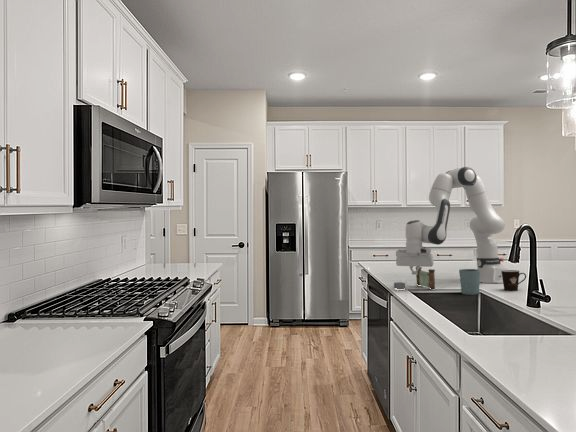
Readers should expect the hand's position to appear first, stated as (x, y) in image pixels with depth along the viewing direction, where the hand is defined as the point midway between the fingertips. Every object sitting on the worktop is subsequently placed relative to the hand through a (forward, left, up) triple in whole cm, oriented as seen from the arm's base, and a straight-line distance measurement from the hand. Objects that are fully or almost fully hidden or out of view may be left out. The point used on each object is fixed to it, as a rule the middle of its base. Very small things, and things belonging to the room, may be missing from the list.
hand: (414, 274), depth 268 cm
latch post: (-6, +7, -8) cm, 12 cm away
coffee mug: (-42, +27, -8) cm, 51 cm away
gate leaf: (-6, 0, -7) cm, 9 cm away
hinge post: (-6, -7, -8) cm, 12 cm away
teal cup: (-17, +26, -8) cm, 32 cm away
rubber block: (+10, +1, -8) cm, 13 cm away
